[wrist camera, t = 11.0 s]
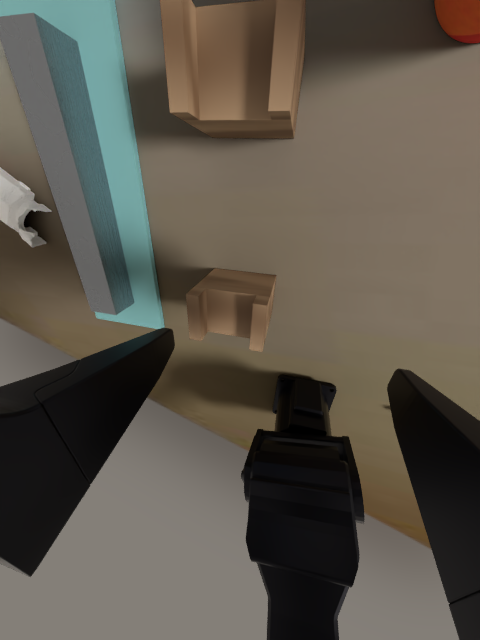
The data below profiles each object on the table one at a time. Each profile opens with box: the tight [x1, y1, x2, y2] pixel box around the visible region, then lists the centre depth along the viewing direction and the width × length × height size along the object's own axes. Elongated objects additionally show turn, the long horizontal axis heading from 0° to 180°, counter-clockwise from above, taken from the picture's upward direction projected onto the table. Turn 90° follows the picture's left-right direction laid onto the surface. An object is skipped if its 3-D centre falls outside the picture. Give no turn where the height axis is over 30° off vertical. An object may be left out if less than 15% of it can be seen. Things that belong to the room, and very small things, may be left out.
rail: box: [0, 13, 134, 315], centre depth 20 cm, size 20×3×3 cm, turn 178°
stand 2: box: [186, 268, 276, 352], centre depth 20 cm, size 4×6×6 cm, turn 88°
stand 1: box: [160, 0, 306, 138], centre depth 13 cm, size 4×6×6 cm, turn 88°
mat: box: [0, 0, 164, 329], centre depth 21 cm, size 26×9×1 cm, turn 178°
